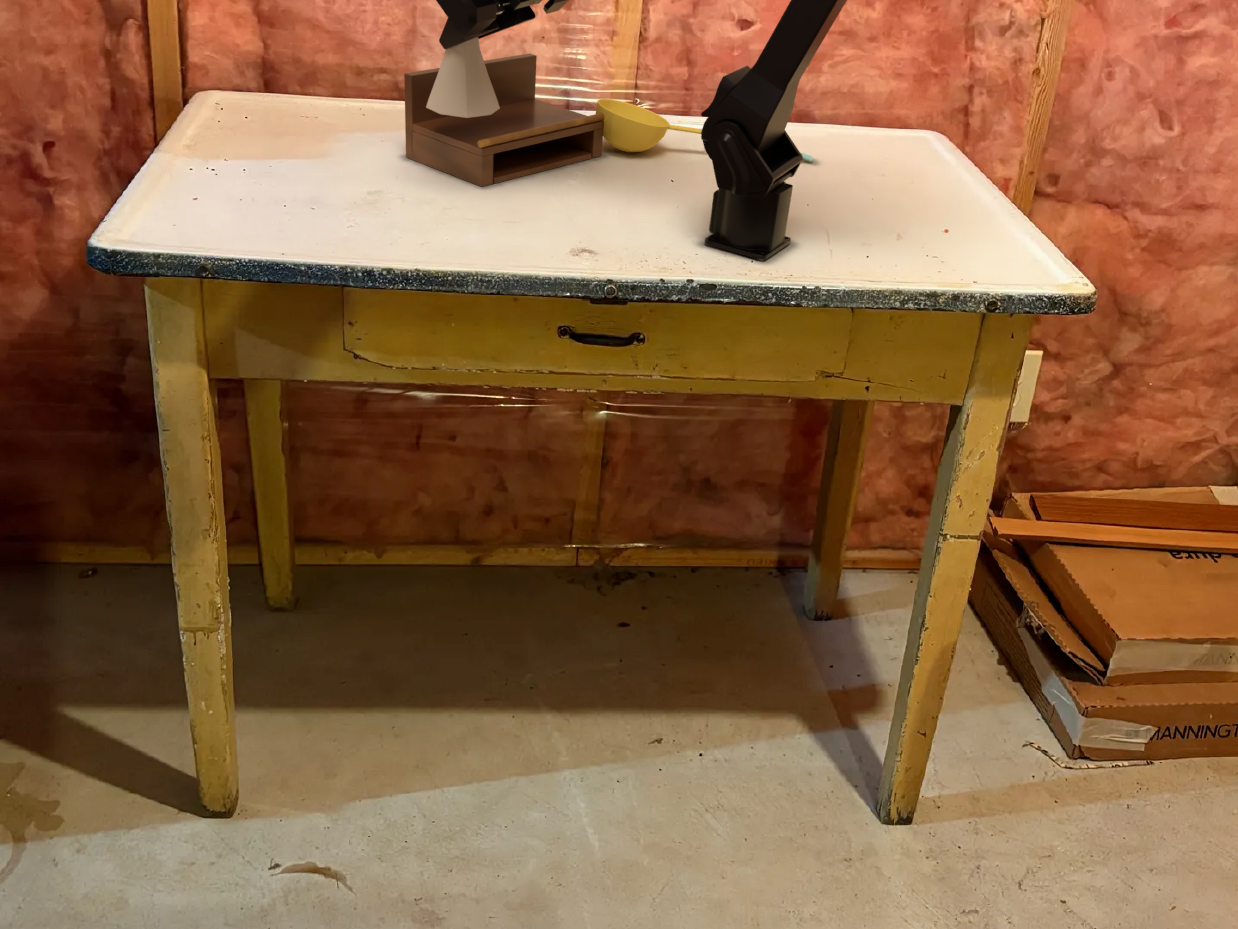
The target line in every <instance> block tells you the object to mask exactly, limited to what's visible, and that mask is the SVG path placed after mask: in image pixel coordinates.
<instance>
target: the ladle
mask: <svg viewBox="0 0 1238 929" xmlns="http://www.w3.org/2000/svg"><path fill="white" fill-rule="evenodd" d="M599 113H602V114H603V115H604V119H603V120H602V121H604V128H603V139H604V140H606V142H608V143H609V144H610V145H611V146H612V147H613V148H615V149H617V150H620V151H623V152H626V153H638V152H644V151H647V150H649V149H651V148H653V147H655V146H657V144H659V142H660V141H661V140H662V139H663V138H664V137H665V135H666V133H667V131H668V130H671V131H677V132H684V133H691V134H698V135H701V133H702V128H697V127H689V126H683V125H676V124H670V122H669V121H668V120H667V119H666V118H665V117H663V116H661V115H659V113H656V112H654V111H651V110H649V109H646V108H644V107H641V106H639V105H635V104H632V103H630V102H625V101H622V100H617V99H614V98H613V99H612V98H599V99H598V100H597V102H596V108H595V114H599ZM800 153H801V155H802V156H803V161H806V162H809V163H813V161H814V157H813V156H812V155H810V154H808V153H803V152H800Z"/></svg>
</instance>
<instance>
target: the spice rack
mask: <svg viewBox="0 0 1238 929" xmlns="http://www.w3.org/2000/svg"><path fill="white" fill-rule="evenodd" d="M484 63H485V66H486V69H487V72H488V76H489V78H490V81H491V84H492V87H493V89H494V92H495V95H496V98H497V101H498V104H499V107H500V109H498V110H497V111H495V112H494V113H493V114H491V115H485V116H478V117H470V118H464V117H457V116H450V115H442V114H439V113H437V112H435V111H433V110H430V109H428V108H426V106H427V103H428V100H429V97H430V94H431V91H432V88H433V86H434V83H435V80H436V77H437V75H438V72H439V68H440V67H436V68H431V69H423V70H418V71H417V70H416V71H410V72H405V73H403V74H404V75H403V77H404V78H403V79H404V121H405V123H404V127H405V128H404V129H405V131H404V133H405V157H406V158H408V159H411V160H413V161H415V162H417V163H420V164H423V165H424V166H427V167H430V168H432V169H435V170H437V171H440V172H443V173H444V174H445V173H446V174H447V175H450V176H453V177H456V178H458V179H461V180H463V181H466V182H469V183H471V184H474V185H476V186H479V187H481V188H482V187H487V186H491V185H493V184H499V183H502V182H505V181H509V180H513V179H518V178H521V177H525V176H529V175H532V174H536V173H540V172H541V173H542V172H544V171H548V170H553V169H556V168H559V167H563V166H568V165H571V164H575V163H580V162H582V161H588V160H590V159H594V158H598V157H601V156H602V152H603V140H604V137H603V128H604V121H602V120H603V119H604V115H603V114H602V113H599V114H596V113H595V114H590V115H586V114H583V113H580V112H576V111H573V110H570V109H568V108H565V107H561V106H559V105H556V104H555V105H554V104H552V103H549V102H545V101H543V100H539V99H536V83H537V82H536V80H537V55H536V54H533V53H523V54H518V55H512V56H504V57H499V58H492V59H486V60H484Z"/></svg>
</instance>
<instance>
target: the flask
mask: <svg viewBox="0 0 1238 929" xmlns="http://www.w3.org/2000/svg"><path fill="white" fill-rule="evenodd" d="M479 40H480V39H478V37H476V38H474V39H471V40H469V41H466V42H464V43H461V44H459V45H456V46H454V47H451V48H449V49H444V53H443V56H442V59H441V63H440V65H439V67H438V68H439V72H438V75H437V77H436V80H435V83H434V86H433V88H432V91H431V94H430V97H429V100H428V103H427V106H426V108H428V109H430V110H433V111H435V112H437V113H439V114H442V115H450V116H457V117H464V118H470V117H478V116H485V115H491V114H493V113H494V112H495V111H497V110H498V109H500V107H499V104H498V101H497V98H496V95H495V92H494V89H493V87H492V84H491V81H490V78H489V76H488V72H487V69H486V66H485V63H484V61H485V59H484V58H483V54H482V51H481V46H480V41H479Z"/></svg>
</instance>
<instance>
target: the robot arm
mask: <svg viewBox="0 0 1238 929" xmlns="http://www.w3.org/2000/svg"><path fill="white" fill-rule="evenodd" d="M435 1H436V3H437V4H438V5H439V7H440V8H441V10H442V11H443V12H444V15H445V16H446V17H447V19H446V22H445V24H444V27H443V29H442V31H441V34H440V37H439V39H438V42H439V44H440V45H441V47H442V48H443V50H446V49H449V48H451V47H454V46H456V45H459V44H461V43H464V42H466V41H469V40H471V39H474V38H476V37H478V40H480V39H483V38H486V37H488V36H491V35H494V34H496V33H500V32H502V31H506V30H507V29H510V28H514V27H515V26H519V25H522V24H524V23H527V22H531V21H533V20H534V19H536V17H537V16H536V13H535V11H534V10H533V8H532V7H531V6H534V5H537V4H540V3H542V1H543V0H435ZM847 1H848V0H790V1H789V3H788V5H787V6H786V8H785V10H784V12H783V13H782V15H781V17H780V18H779V21H778V23H777V24H776V26H775V28H774V30H773V32H772V33H771V34H770V36H769V39H768V40H767V42H766V44H765V46H764V47H763V48H762V51H761V52H760V53H759V54H760V55H759V56H758V58H757V60H756V62H755V63H754V64H753V65H752V66H751V67H750V66H749V65H745V66H743V67H740V68H739V69H736V70H734V71H732V72H729V73H727V74H725V75H723V76H722V78H720V82H719V84H718V85H717V88H716V92H715V95H714V98H713V100H712V101H711V103H710V104H709V106H708V107H707V108H705V109H704V110H703V111H702V112H701V113H700V116H701V117H702V118H706V119H705V121H704V123H703V125H702V128H701V129H702V133H701V134H700V139H701V140H702V142H703V144H702V145H703V148H704V151H705V153H706V155H707V156H708V158H709V159H710V160H711V162H712V168H713V172H714V177H715V183H716V187H717V188H718V189H716V190H715V191H714V192H713V194H712V203H711V210H710V219H709V227H708V231H709V233H710V234H709V235H708V236H706V237H705V238H704V244H705V245H707V246H711V247H713V248H714V247H715V248H719V249H721V250H725V251H728V252H732V253H736V254H739V255H741V256H742V255H743V256H746V257H750V258H754V259H757V260H760V261H761V260H762V261H764V260H767V259H769V258H770V257H772V256H773V255H774V254H776V253H777V252H779V251H780V250H782V249H784V248H785V247H786V246H788V245H789V244H791V240H792V238H791V237H789V236H787V235H786V231H787V227H788V226H787V225H788V218H789V213H790V206H791V201H792V194H793V189H794V185H793V184H790V183H787V182H786V180H788V179H790V178H792V177H794V176H795V175H796V173H797V171H798V169H799V168H800V166H801V164H802V162H803V161H804V159H803V156H802V155H801V153H802V152H800V150H799V149H798V147H797V146H796V144H795V142H794V141H793V139H792V138H791V137H790V135H789V133H788V132H787V130H786V128H787V125H788V123H789V120H790V117H791V115H792V112H793V110H794V107H795V106H794V105H795V101H796V97H797V92H798V86H799V84H800V81H801V78H802V77H803V75H804V73H805V72H806V70H807V68H808V66H809V65H810V63H811V62H812V60H813V59H814V57H815V55H816V53H817V51H818V50H819V48H820V46H821V45H822V43H823V42H824V40H825V39H826V37H827V35H828V33H829V32H830V30H831V28H832V26H833V25H834V23H835V22H836V19H837V18H838V16H839V15H840V12H842V10H843V8H844V6H845V5H846V3H847ZM568 2H570V0H548V1H547V2H545V3H544V5H543V8H542V10H543V11H544V12H545V14H546V15H547V14H548V15H549V14H552V13H556V12H559V11H561V9H562V8H563V7H564V6H565V5H566V4H567V3H568Z"/></svg>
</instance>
